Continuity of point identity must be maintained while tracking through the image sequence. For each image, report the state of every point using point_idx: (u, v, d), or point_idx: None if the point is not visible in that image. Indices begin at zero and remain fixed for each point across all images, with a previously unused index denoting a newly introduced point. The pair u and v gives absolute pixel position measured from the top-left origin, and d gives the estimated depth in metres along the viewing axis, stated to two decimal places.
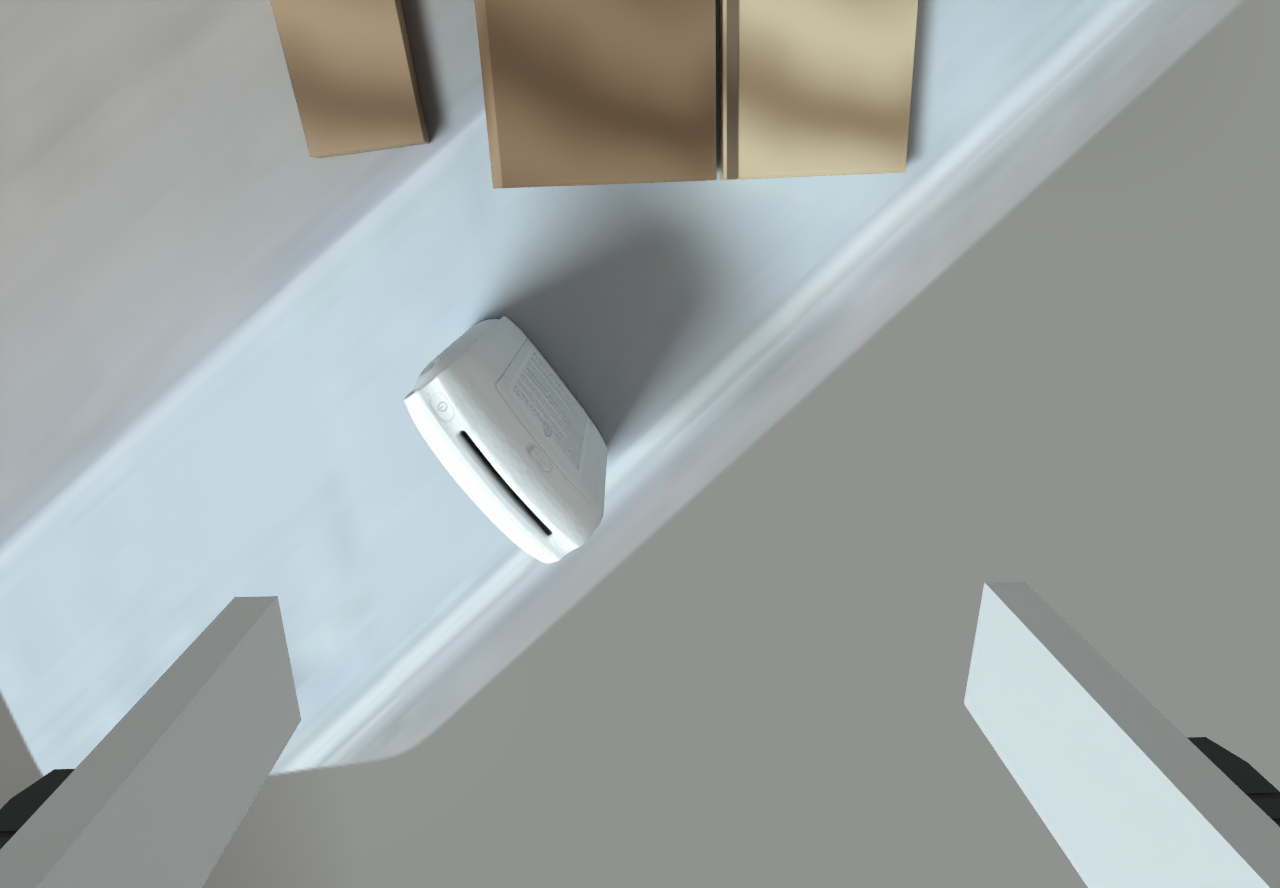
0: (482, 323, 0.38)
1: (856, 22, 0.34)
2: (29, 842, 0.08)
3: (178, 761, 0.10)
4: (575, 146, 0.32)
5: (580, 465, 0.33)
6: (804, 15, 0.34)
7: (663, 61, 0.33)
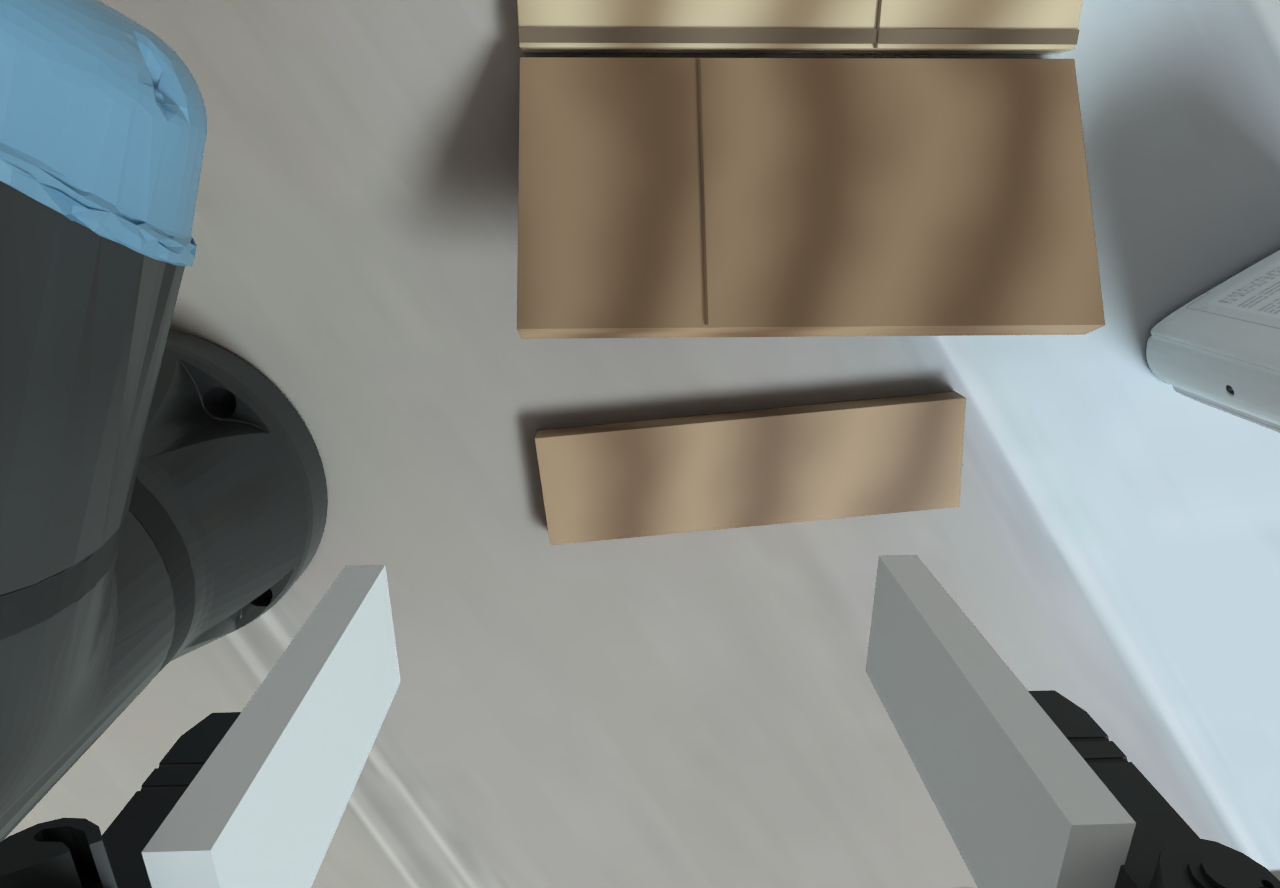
0: (1164, 357, 0.33)
1: None
2: (223, 765, 0.09)
3: (324, 705, 0.11)
4: (1054, 236, 0.28)
5: None
6: None
7: (953, 125, 0.29)
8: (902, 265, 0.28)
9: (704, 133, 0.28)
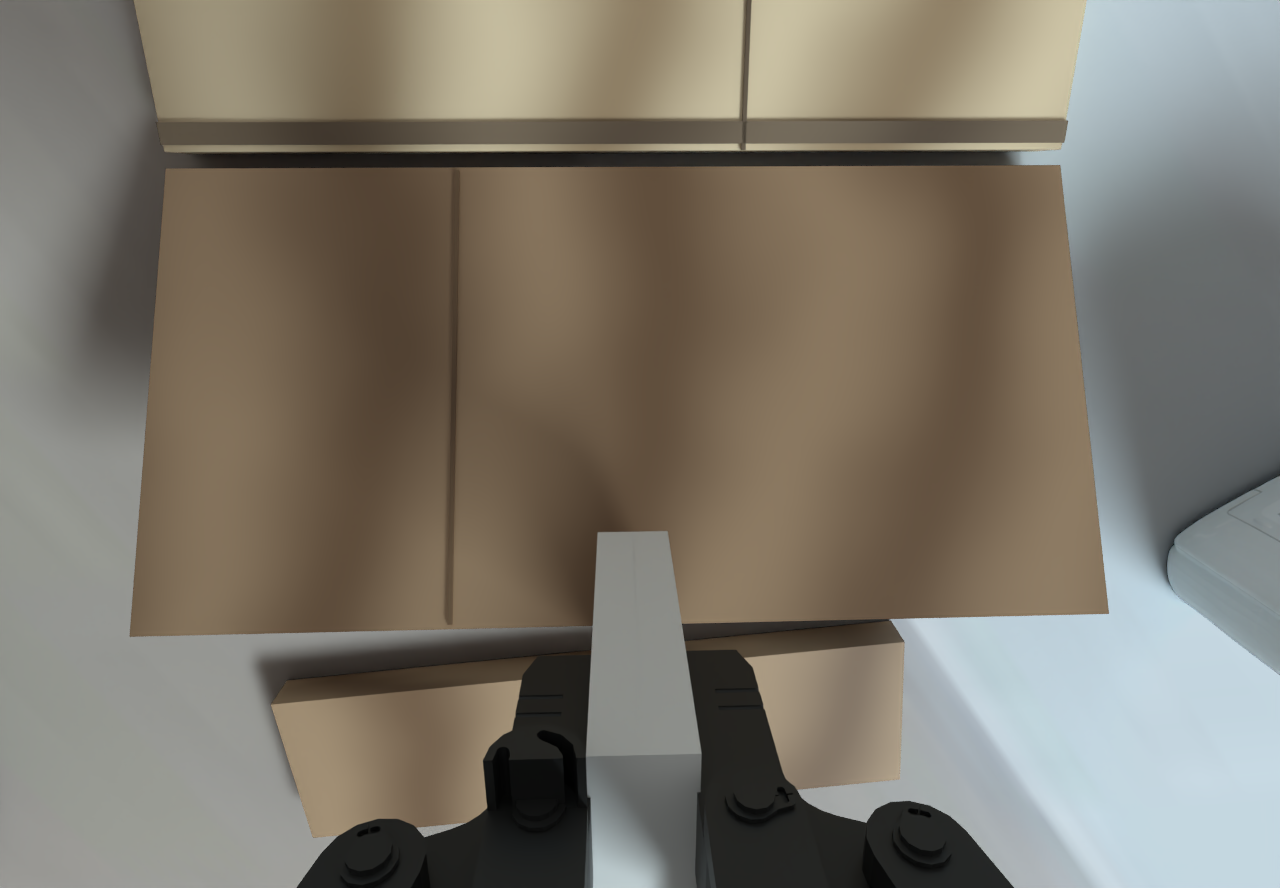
0: (1196, 587, 0.23)
1: None
2: (607, 691, 0.11)
3: None
4: (1026, 462, 0.17)
5: None
6: None
7: (866, 276, 0.18)
8: (778, 515, 0.17)
9: (461, 294, 0.17)
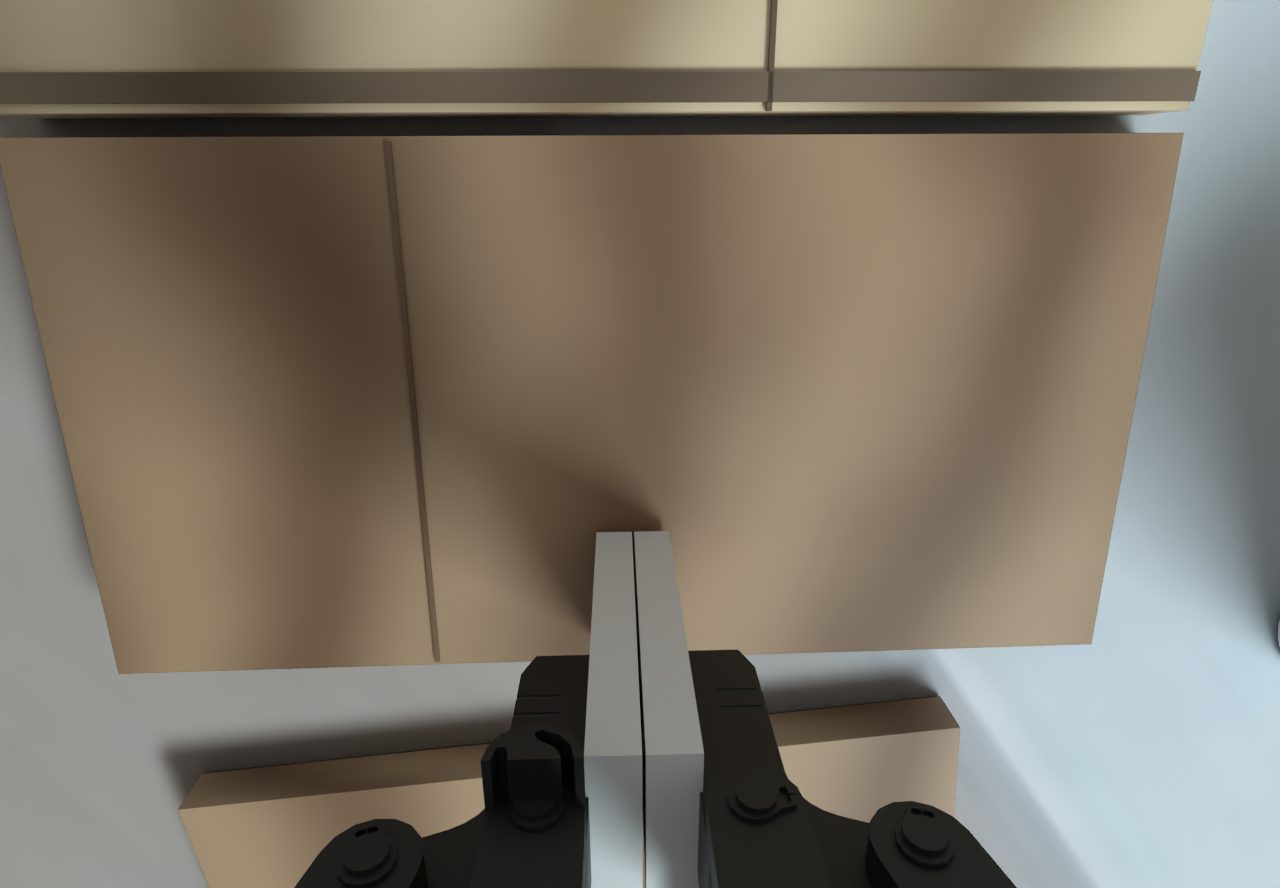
0: None
1: None
2: (605, 691, 0.11)
3: None
4: (1046, 503, 0.16)
5: None
6: None
7: (906, 289, 0.15)
8: (773, 558, 0.16)
9: (411, 314, 0.14)
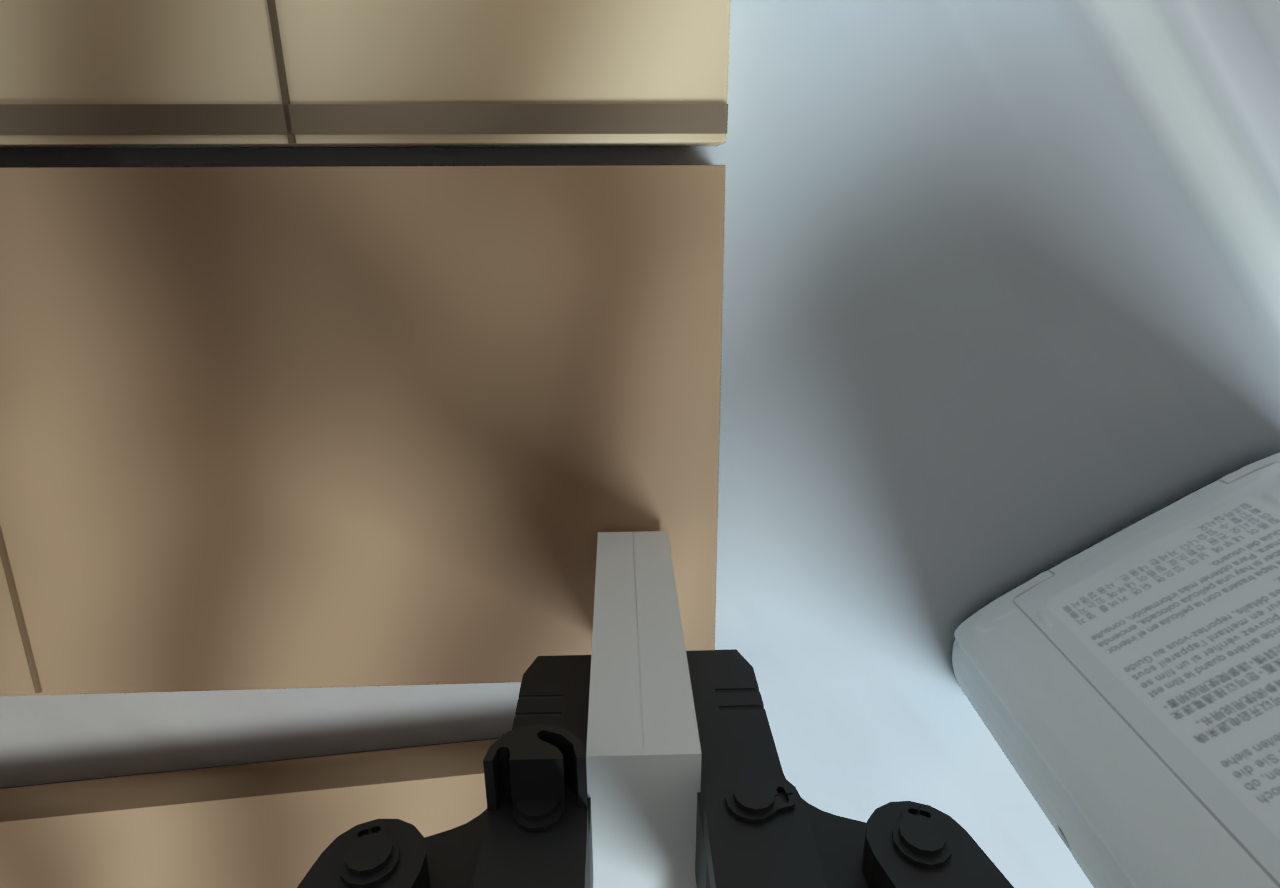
0: (973, 693, 0.18)
1: None
2: (607, 691, 0.11)
3: None
4: None
5: None
6: None
7: (464, 320, 0.14)
8: (370, 589, 0.16)
9: None
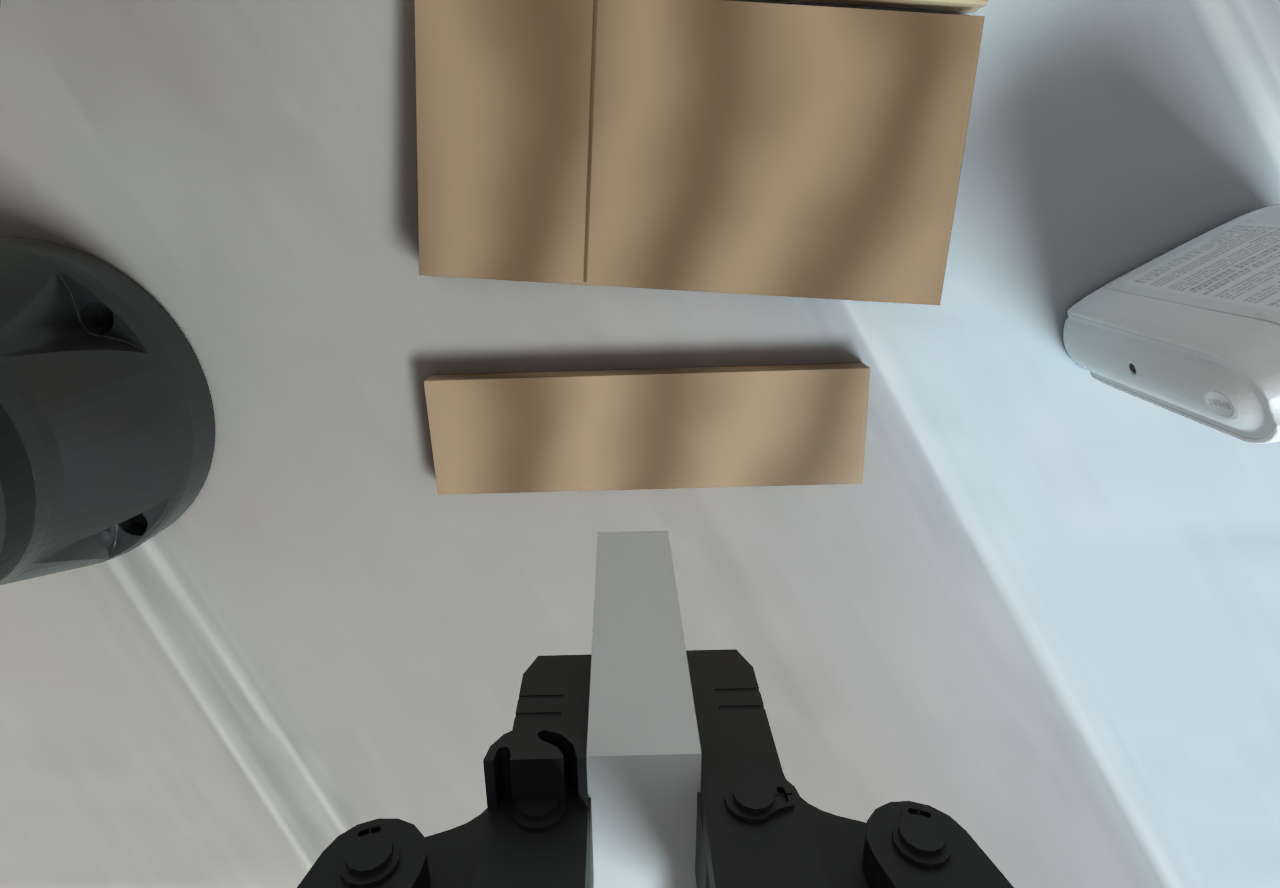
0: (1078, 338, 0.32)
1: None
2: (608, 691, 0.11)
3: None
4: (915, 216, 0.30)
5: None
6: None
7: (843, 89, 0.29)
8: (767, 236, 0.30)
9: (596, 83, 0.29)
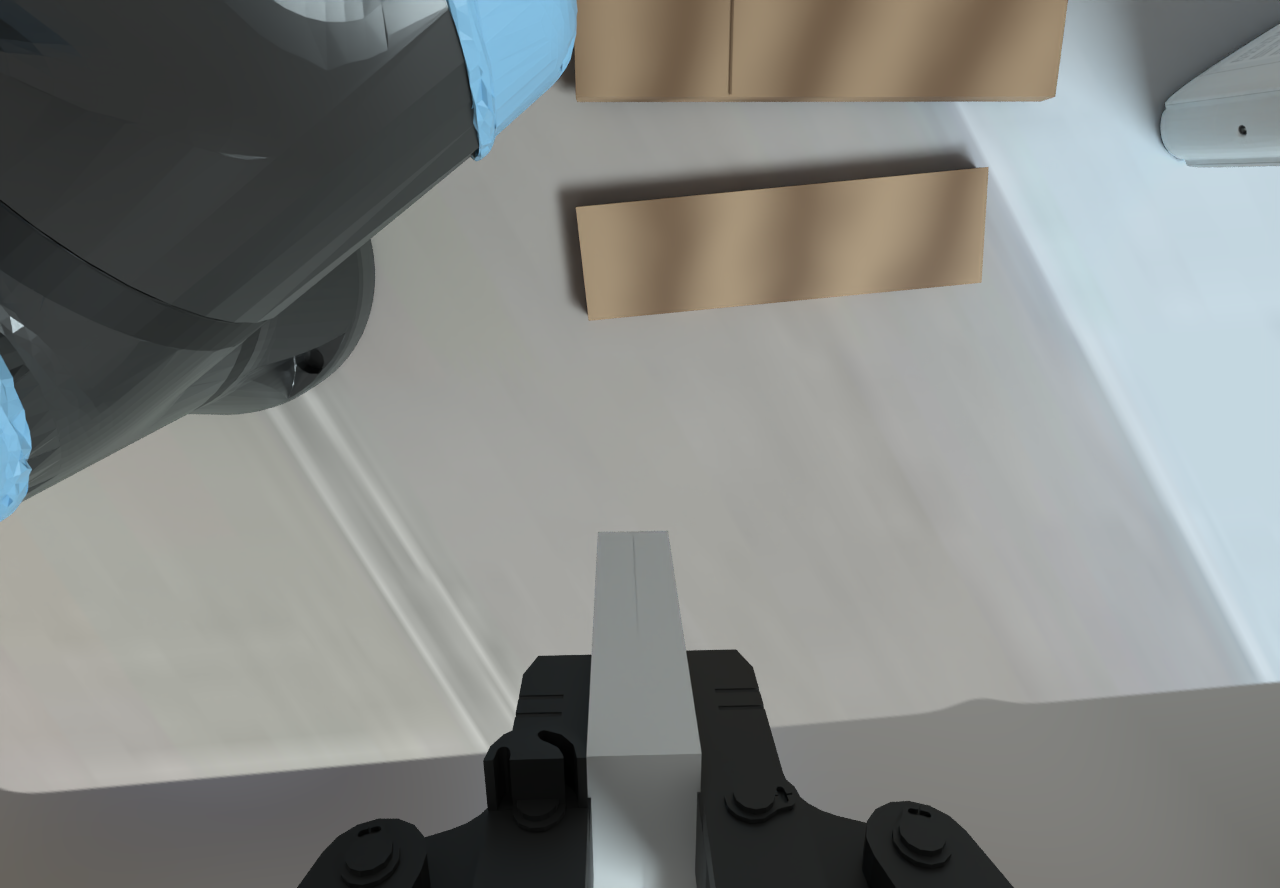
0: (1178, 124, 0.35)
1: None
2: (607, 691, 0.11)
3: None
4: (1031, 10, 0.33)
5: None
6: None
7: None
8: (897, 39, 0.33)
9: None
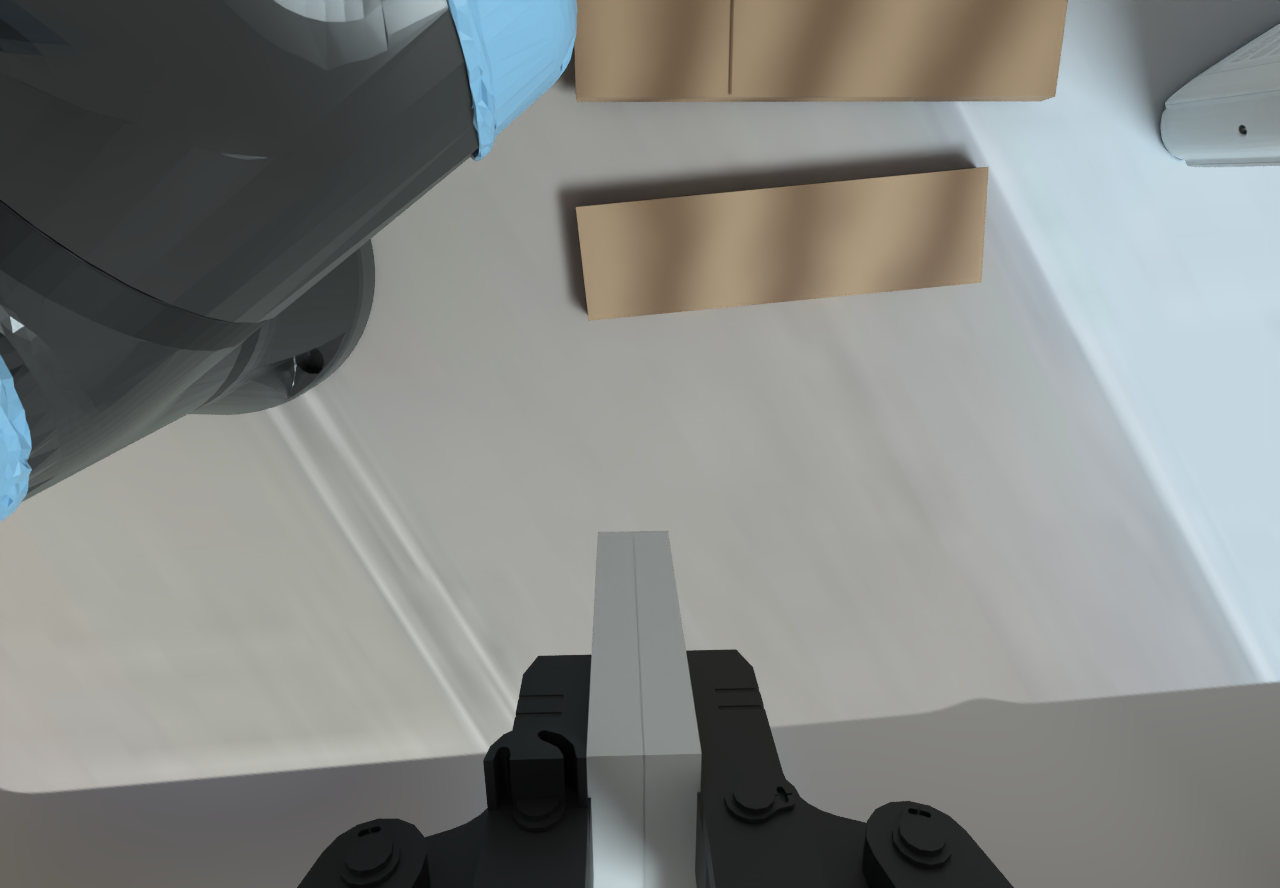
0: (1179, 124, 0.35)
1: None
2: (607, 691, 0.11)
3: None
4: (1031, 10, 0.33)
5: None
6: None
7: None
8: (897, 38, 0.33)
9: None
